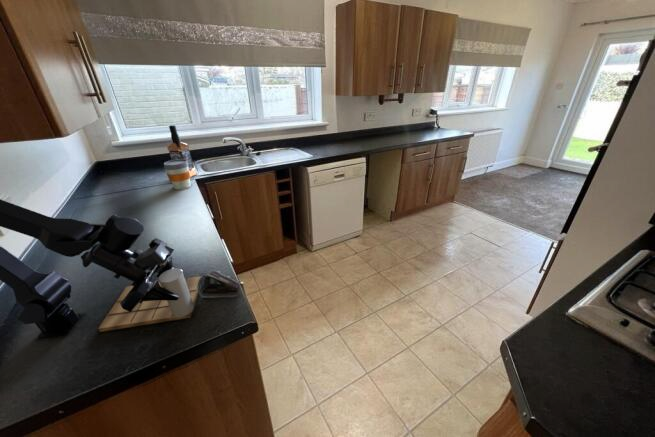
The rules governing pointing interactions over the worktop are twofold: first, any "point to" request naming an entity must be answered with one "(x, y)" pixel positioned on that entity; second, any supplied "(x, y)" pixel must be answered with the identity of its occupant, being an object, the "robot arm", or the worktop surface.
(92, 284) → the worktop surface
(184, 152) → the whiskey bottle
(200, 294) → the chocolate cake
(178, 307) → the white plastic cylinder
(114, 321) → the board
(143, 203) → the worktop surface
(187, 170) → the reusable coffee cup
